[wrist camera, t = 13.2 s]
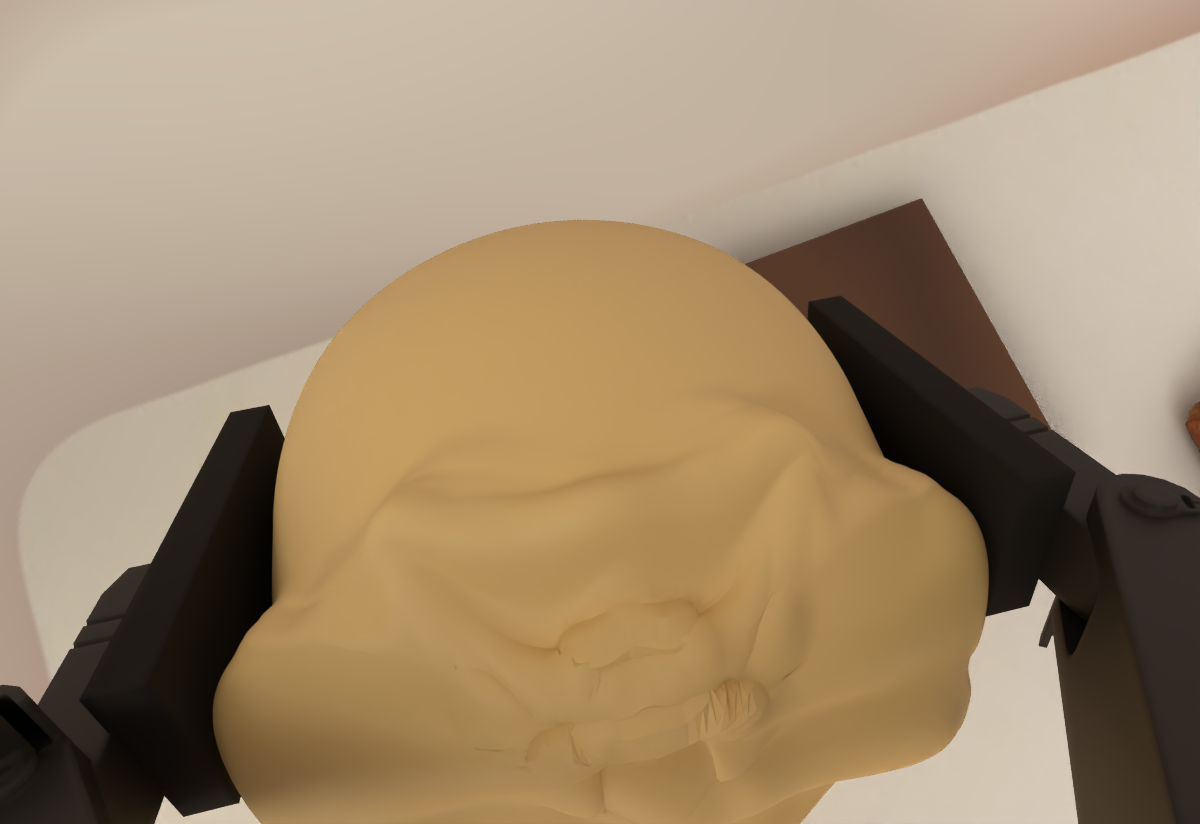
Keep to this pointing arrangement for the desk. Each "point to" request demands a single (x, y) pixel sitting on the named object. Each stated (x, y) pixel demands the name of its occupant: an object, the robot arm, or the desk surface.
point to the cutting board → (904, 294)
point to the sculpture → (593, 556)
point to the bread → (1194, 424)
